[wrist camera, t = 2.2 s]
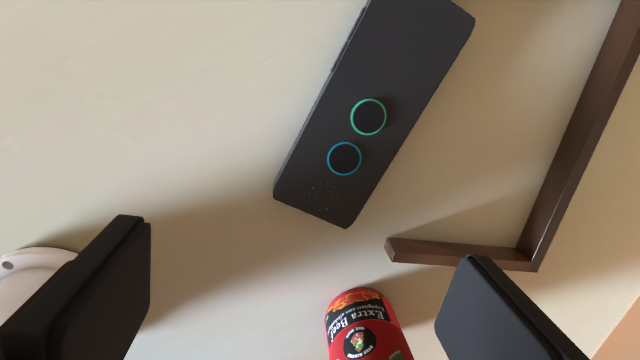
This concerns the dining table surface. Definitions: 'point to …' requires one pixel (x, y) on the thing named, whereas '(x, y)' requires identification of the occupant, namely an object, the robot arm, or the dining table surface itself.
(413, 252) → the dock
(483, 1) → the dining table surface
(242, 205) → the dining table surface
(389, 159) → the smart home device
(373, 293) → the canned food
